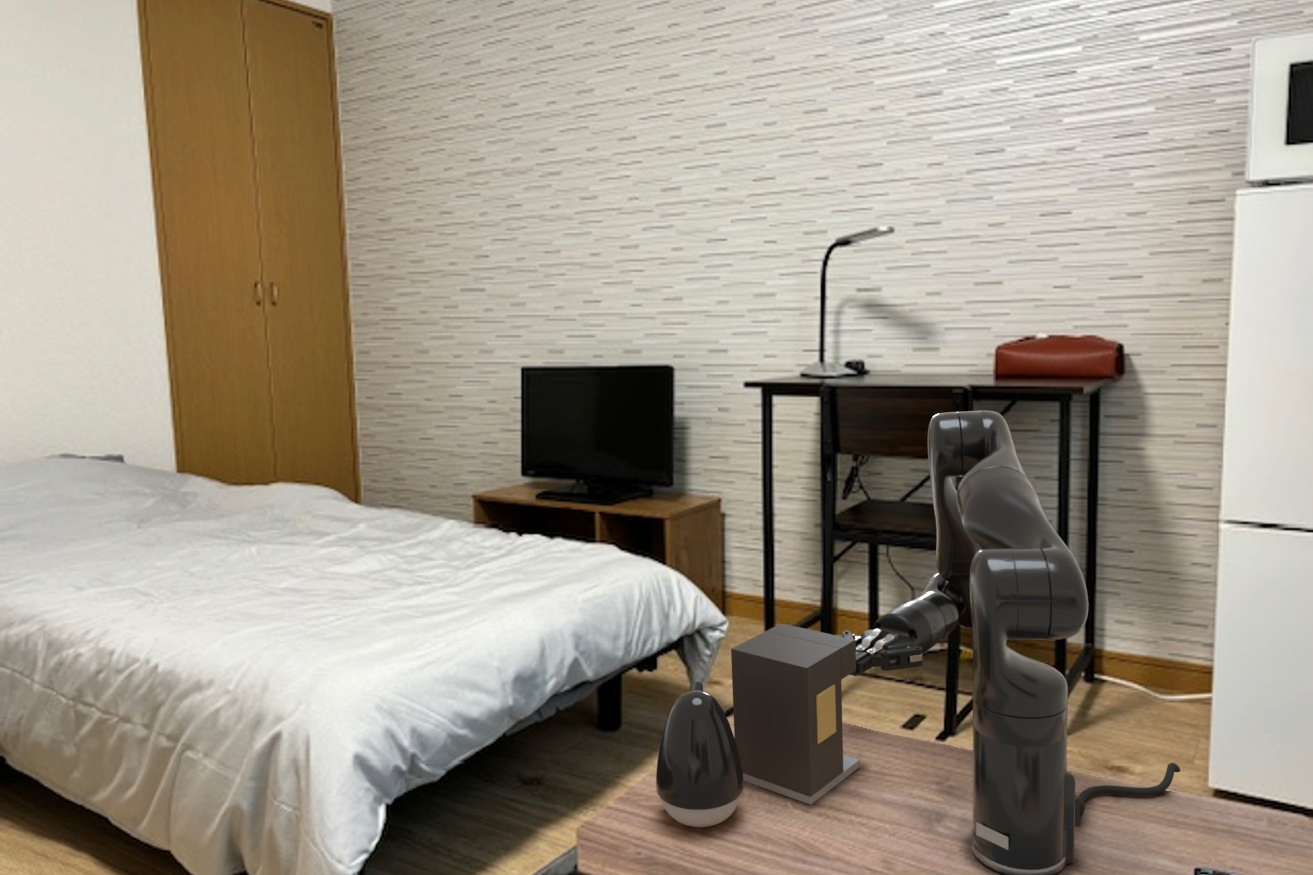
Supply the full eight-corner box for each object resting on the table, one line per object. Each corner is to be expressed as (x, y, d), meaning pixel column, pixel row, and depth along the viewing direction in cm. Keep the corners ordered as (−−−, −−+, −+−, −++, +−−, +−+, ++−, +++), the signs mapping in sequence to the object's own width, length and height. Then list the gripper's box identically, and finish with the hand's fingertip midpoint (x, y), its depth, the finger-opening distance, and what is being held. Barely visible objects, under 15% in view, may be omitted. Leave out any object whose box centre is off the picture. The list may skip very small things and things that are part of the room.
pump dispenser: (745, 792, 120) (740, 673, 118) (744, 839, 110) (739, 710, 108) (661, 791, 121) (656, 674, 119) (653, 838, 111) (646, 711, 109)
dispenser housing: (787, 743, 132) (783, 621, 130) (861, 767, 125) (858, 638, 123) (735, 777, 124) (730, 648, 121) (812, 805, 117) (808, 668, 114)
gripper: (869, 598, 149) (806, 632, 137) (952, 613, 141) (894, 651, 128) (869, 645, 151) (808, 683, 138) (952, 663, 142) (894, 706, 129)
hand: (849, 668), depth 133 cm, fingers closed
